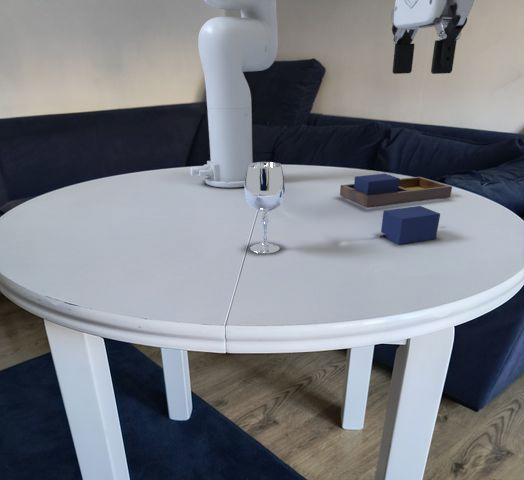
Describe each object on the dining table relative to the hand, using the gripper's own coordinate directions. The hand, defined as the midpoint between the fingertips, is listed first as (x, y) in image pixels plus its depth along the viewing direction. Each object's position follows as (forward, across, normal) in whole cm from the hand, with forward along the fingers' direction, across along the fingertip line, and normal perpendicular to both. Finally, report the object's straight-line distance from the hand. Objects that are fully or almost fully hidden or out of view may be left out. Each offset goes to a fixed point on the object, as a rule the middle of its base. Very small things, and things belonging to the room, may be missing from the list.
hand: (420, 73), depth 73 cm
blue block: (+22, -14, +3) cm, 26 cm away
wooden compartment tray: (+22, -14, +7) cm, 27 cm away
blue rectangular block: (+23, +7, -4) cm, 24 cm away
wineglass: (+22, +4, -27) cm, 35 cm away
